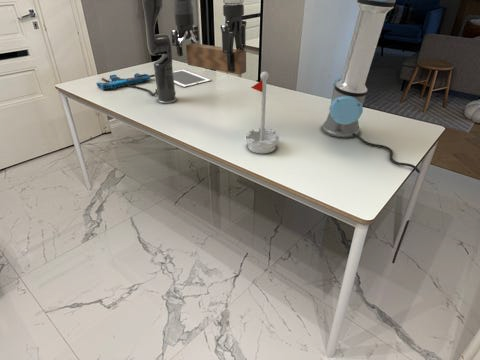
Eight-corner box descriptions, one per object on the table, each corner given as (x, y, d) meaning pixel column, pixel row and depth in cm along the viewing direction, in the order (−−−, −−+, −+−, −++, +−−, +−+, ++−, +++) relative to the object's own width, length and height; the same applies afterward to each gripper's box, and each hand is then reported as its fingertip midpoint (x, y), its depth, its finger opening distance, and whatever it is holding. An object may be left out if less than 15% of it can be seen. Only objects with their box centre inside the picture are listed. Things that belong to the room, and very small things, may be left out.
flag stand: (269, 137, 144) (273, 65, 127) (283, 151, 134) (289, 74, 117) (240, 142, 140) (240, 68, 123) (253, 157, 130) (255, 78, 113)
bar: (246, 72, 135) (246, 50, 131) (239, 74, 132) (239, 52, 127) (194, 62, 148) (193, 43, 144) (187, 65, 145) (185, 44, 141)
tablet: (157, 75, 221) (157, 74, 221) (183, 69, 232) (183, 69, 232) (184, 87, 201) (183, 86, 200) (211, 80, 212) (211, 79, 211)
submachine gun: (140, 68, 226) (159, 74, 209) (142, 73, 228) (160, 80, 211) (89, 77, 207) (104, 85, 190) (90, 84, 209) (106, 92, 192)
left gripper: (188, 9, 143) (191, 49, 152) (164, 13, 133) (169, 56, 142) (202, 11, 139) (204, 52, 148) (178, 14, 130) (182, 58, 139)
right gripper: (238, 1, 130) (239, 63, 143) (209, 5, 118) (213, 73, 131) (255, 2, 126) (254, 66, 139) (227, 6, 114) (229, 76, 127)
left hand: (187, 54), depth 145 cm, fingers open, 8 cm apart
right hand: (234, 69), depth 135 cm, fingers closed on bar, 4 cm apart
